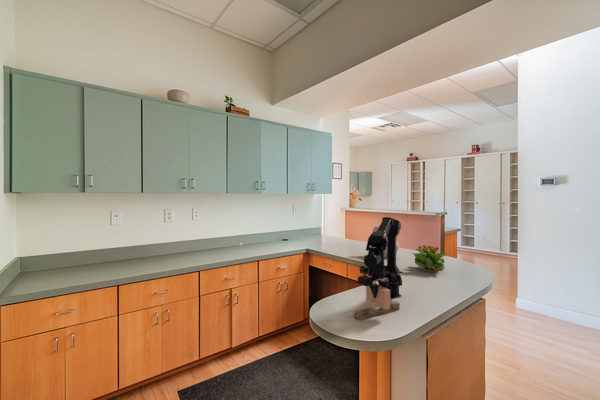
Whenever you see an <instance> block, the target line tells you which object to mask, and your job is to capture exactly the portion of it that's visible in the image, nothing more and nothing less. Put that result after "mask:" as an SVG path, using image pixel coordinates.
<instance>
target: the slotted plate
mask: <svg viewBox="0 0 600 400" xmlns="http://www.w3.org/2000/svg"><path fill="white" fill-rule="evenodd" d="M378 285H379V284H378ZM365 300H366V301H368V302H369V303H372V304H373V303H377V302H378V307H379V308H380V307H381V308H383V309H385V310H386V309H389V308H390V302H391V297H390V290H389V289H387V288H384V287H382V286H380V285H379V286H378V291H377V297H376V298H374V297H373V294H372V291H371V289H370V287H369V286H365Z"/></svg>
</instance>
